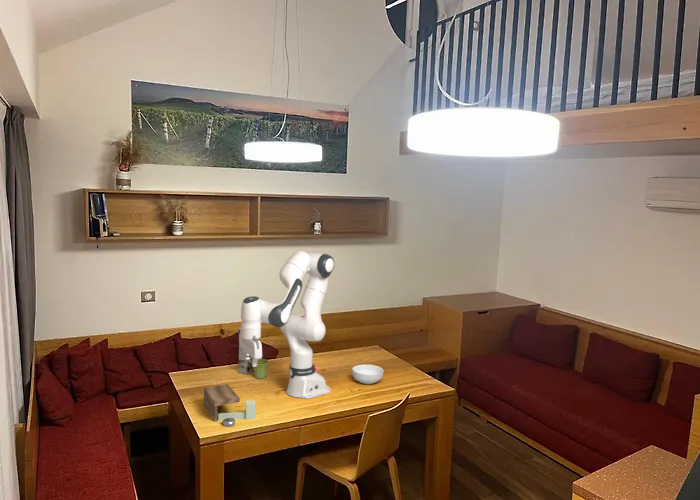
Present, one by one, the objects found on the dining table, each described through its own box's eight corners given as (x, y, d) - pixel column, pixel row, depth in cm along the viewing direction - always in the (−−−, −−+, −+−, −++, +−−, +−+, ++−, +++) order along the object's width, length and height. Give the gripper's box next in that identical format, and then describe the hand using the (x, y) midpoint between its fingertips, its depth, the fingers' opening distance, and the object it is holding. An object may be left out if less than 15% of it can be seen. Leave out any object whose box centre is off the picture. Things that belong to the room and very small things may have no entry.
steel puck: (235, 422, 244) (235, 417, 244) (234, 427, 239) (234, 422, 239) (223, 422, 243) (223, 418, 243) (222, 427, 239) (222, 423, 238)
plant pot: (248, 376, 299) (248, 360, 298) (263, 372, 305) (263, 357, 304) (257, 381, 292) (257, 365, 291) (272, 377, 298) (272, 362, 297)
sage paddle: (254, 415, 251) (254, 400, 251) (255, 418, 248) (255, 404, 247) (218, 417, 248) (218, 402, 247) (218, 421, 244) (218, 406, 243)
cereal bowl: (387, 379, 302) (388, 367, 302) (375, 389, 287) (376, 376, 287) (359, 374, 309) (359, 361, 309) (346, 383, 294) (346, 370, 294)
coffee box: (248, 374, 302) (248, 345, 300) (238, 372, 304) (238, 344, 302) (256, 369, 311) (257, 341, 308) (247, 367, 313) (247, 339, 311)
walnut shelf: (227, 402, 265) (227, 384, 263) (239, 416, 249) (239, 397, 248) (203, 406, 259) (203, 387, 258) (214, 421, 243) (214, 402, 242)
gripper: (266, 338, 240) (265, 369, 242) (249, 326, 257) (249, 355, 259) (252, 340, 237) (251, 371, 238) (236, 328, 254) (236, 357, 256)
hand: (250, 363), depth 249 cm, fingers open, 8 cm apart
